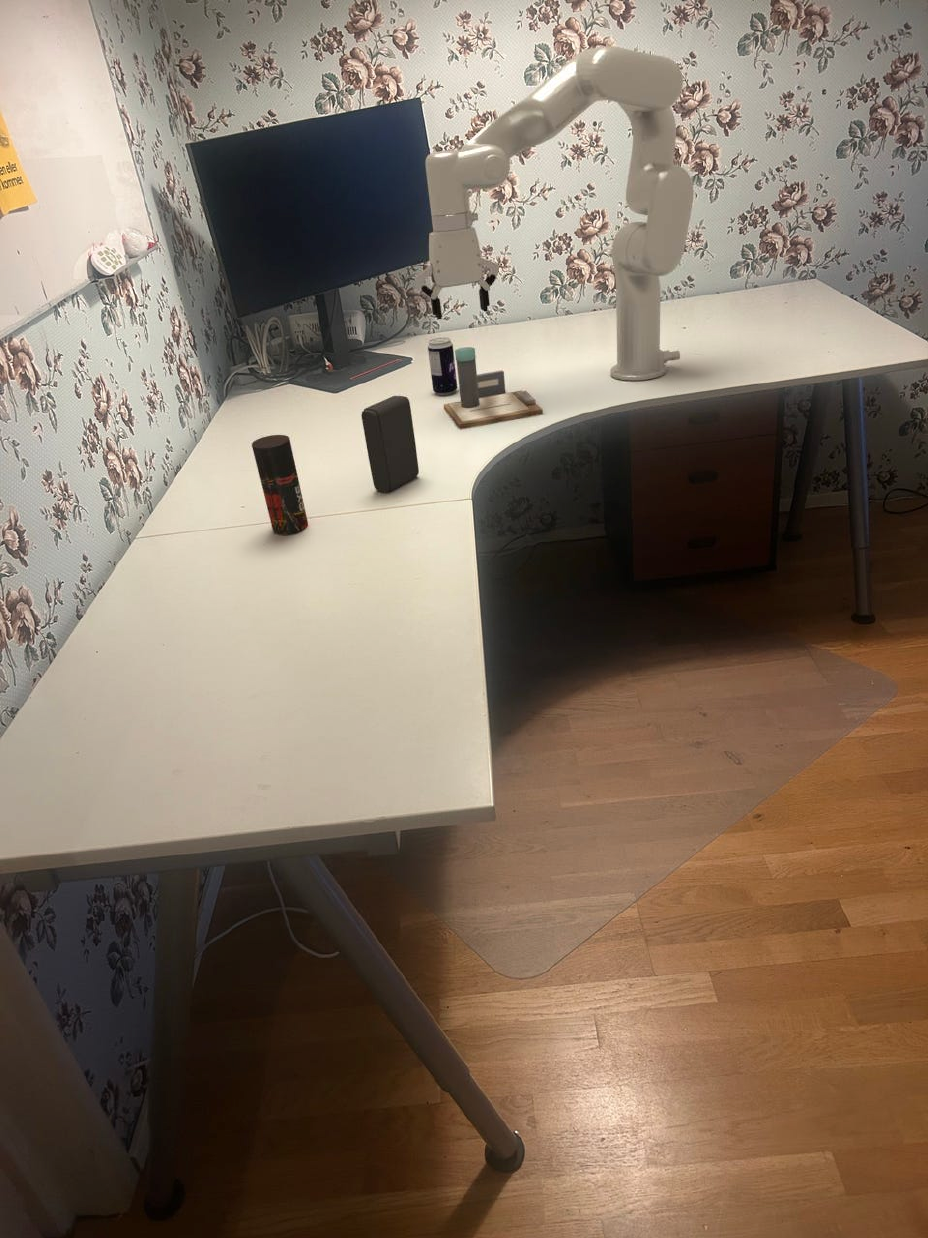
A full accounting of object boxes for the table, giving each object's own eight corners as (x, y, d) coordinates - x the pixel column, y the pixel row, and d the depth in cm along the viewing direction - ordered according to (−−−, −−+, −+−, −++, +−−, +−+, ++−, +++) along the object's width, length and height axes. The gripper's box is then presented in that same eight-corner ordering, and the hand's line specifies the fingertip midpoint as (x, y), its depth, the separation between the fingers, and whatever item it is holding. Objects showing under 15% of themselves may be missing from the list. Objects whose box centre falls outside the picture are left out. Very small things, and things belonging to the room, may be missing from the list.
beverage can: (455, 396, 194) (449, 342, 188) (431, 397, 195) (424, 344, 189) (460, 388, 199) (454, 336, 193) (436, 389, 200) (430, 337, 194)
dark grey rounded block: (406, 472, 157) (394, 392, 149) (422, 476, 155) (411, 395, 147) (372, 491, 151) (357, 408, 144) (388, 495, 149) (374, 411, 141)
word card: (504, 392, 193) (502, 370, 190) (505, 393, 192) (503, 371, 189) (461, 399, 191) (459, 377, 189) (462, 401, 190) (460, 379, 188)
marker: (477, 400, 185) (472, 346, 179) (482, 406, 182) (477, 350, 176) (458, 404, 185) (452, 349, 179) (463, 409, 181) (457, 353, 175)
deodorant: (274, 522, 144) (254, 437, 136) (309, 517, 144) (290, 432, 136) (271, 537, 139) (249, 450, 131) (307, 532, 139) (287, 445, 131)
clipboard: (521, 394, 190) (521, 385, 189) (543, 413, 177) (542, 404, 176) (443, 408, 187) (442, 399, 186) (459, 429, 174) (458, 419, 173)
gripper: (489, 214, 169) (497, 304, 178) (404, 227, 167) (417, 317, 176) (499, 218, 163) (507, 310, 172) (412, 231, 160) (424, 324, 169)
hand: (461, 314), depth 174 cm, fingers open, 9 cm apart
